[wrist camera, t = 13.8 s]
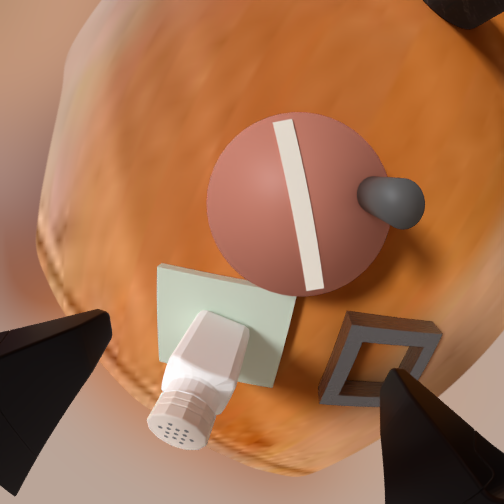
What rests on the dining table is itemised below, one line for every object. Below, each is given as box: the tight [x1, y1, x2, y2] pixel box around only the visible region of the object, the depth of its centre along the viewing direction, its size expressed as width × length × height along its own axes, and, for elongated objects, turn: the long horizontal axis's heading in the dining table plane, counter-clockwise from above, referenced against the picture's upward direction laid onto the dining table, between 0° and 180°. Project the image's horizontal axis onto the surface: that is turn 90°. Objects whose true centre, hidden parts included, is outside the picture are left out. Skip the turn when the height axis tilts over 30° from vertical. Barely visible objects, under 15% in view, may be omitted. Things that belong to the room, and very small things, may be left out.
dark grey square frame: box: [318, 311, 442, 407], centre depth 19 cm, size 8×8×2 cm
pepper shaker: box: [147, 310, 250, 450], centre depth 15 cm, size 4×4×10 cm
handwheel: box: [207, 112, 425, 297], centre depth 12 cm, size 10×10×5 cm
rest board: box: [157, 263, 296, 388], centre depth 20 cm, size 10×9×1 cm
